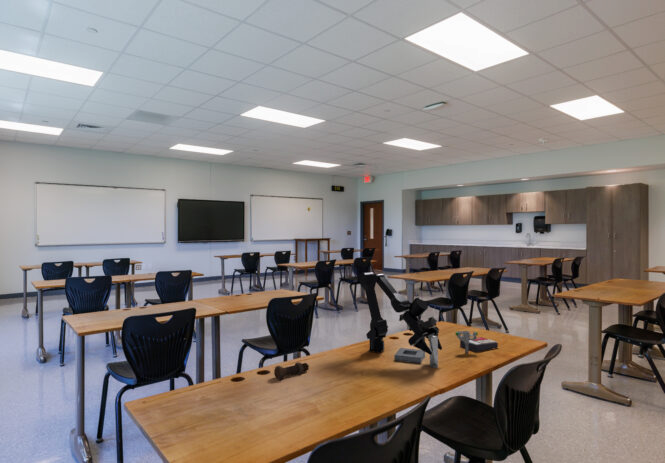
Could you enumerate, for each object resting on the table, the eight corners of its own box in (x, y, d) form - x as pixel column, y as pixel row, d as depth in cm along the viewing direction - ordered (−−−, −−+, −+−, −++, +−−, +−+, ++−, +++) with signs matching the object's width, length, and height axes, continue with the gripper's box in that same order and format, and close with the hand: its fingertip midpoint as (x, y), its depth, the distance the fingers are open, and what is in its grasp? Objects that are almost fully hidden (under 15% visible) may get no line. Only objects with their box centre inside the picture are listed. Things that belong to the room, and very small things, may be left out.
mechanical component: (478, 353, 190) (478, 332, 190) (457, 353, 190) (456, 332, 190) (476, 351, 193) (475, 330, 193) (455, 351, 193) (454, 331, 193)
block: (394, 360, 181) (394, 355, 181) (400, 352, 192) (400, 347, 192) (420, 363, 176) (420, 357, 176) (425, 355, 187) (425, 350, 187)
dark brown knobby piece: (308, 375, 168) (278, 383, 159) (302, 367, 172) (272, 374, 162) (312, 365, 166) (282, 372, 157) (306, 357, 170) (276, 363, 160)
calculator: (498, 341, 198) (476, 343, 192) (498, 349, 198) (476, 352, 192) (481, 336, 208) (459, 338, 202) (481, 344, 208) (459, 346, 202)
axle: (429, 367, 171) (428, 337, 171) (430, 364, 174) (430, 335, 174) (437, 368, 170) (437, 338, 170) (438, 365, 173) (438, 336, 173)
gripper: (414, 315, 168) (438, 345, 161) (435, 308, 182) (458, 336, 174) (398, 330, 173) (421, 361, 166) (420, 323, 187) (442, 350, 180)
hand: (436, 351), depth 171 cm, fingers open, 9 cm apart
